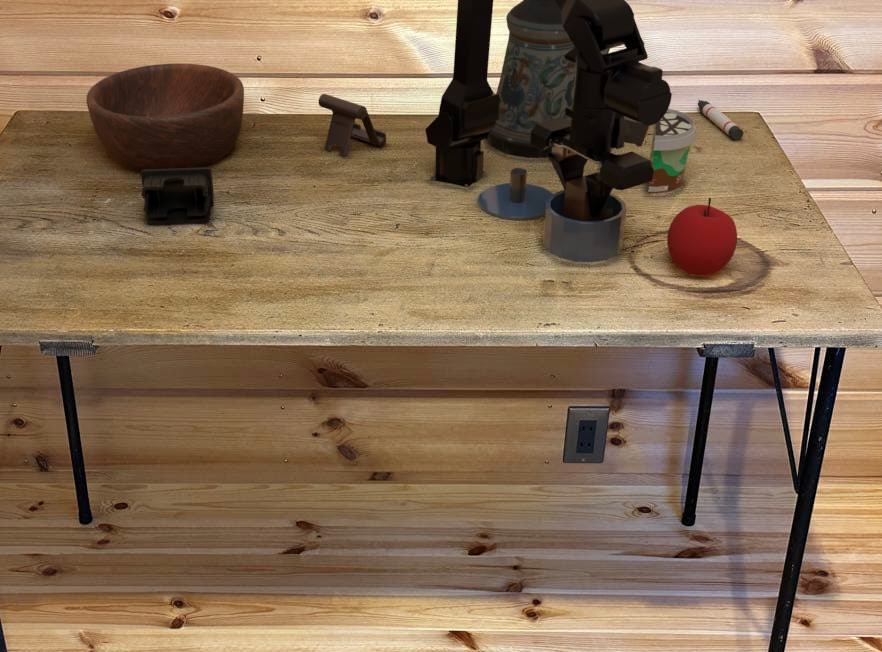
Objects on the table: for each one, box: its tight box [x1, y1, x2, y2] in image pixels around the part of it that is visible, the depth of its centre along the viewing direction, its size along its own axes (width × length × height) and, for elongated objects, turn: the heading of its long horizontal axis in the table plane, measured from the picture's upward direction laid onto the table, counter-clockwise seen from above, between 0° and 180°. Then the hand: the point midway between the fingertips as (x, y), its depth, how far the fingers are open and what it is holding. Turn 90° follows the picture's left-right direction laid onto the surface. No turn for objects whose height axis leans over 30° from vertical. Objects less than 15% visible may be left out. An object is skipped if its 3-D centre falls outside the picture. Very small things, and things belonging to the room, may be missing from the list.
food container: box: [647, 108, 697, 194], centre depth 179 cm, size 12×6×10 cm, turn 168°
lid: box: [477, 167, 554, 221], centre depth 175 cm, size 12×12×6 cm
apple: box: [666, 197, 738, 277], centre depth 157 cm, size 9×9×10 cm
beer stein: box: [487, 0, 611, 159], centre depth 189 cm, size 16×19×25 cm
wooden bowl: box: [85, 63, 245, 172], centre depth 192 cm, size 25×25×10 cm
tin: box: [542, 189, 627, 263], centre depth 164 cm, size 11×11×6 cm
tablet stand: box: [318, 93, 387, 157], centre depth 193 cm, size 9×8×8 cm
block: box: [563, 175, 606, 221], centre depth 161 cm, size 4×4×5 cm
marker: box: [697, 99, 744, 141], centre depth 200 cm, size 15×2×2 cm, turn 12°
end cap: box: [140, 166, 215, 226], centre depth 174 cm, size 10×7×7 cm
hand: (584, 210), depth 162 cm, fingers closed on block, 4 cm apart
